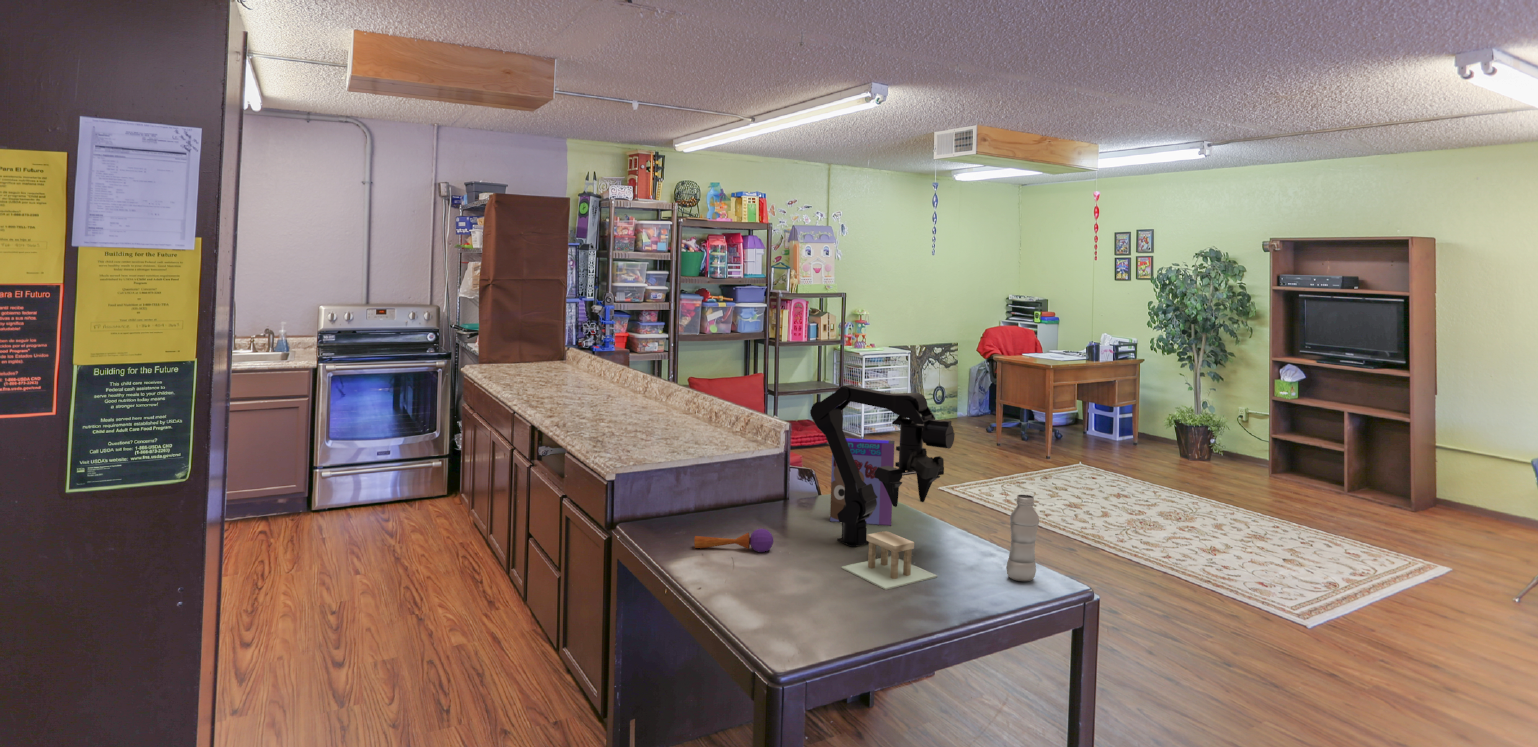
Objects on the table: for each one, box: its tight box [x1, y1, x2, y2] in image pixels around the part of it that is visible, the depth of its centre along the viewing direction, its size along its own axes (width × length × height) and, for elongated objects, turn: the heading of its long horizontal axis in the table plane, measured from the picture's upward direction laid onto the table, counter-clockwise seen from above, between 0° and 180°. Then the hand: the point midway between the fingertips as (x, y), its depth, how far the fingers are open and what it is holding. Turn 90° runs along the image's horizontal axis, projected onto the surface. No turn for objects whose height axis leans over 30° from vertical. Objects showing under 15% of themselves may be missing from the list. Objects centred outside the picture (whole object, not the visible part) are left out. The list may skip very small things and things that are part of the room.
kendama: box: [693, 528, 774, 553], centre depth 205 cm, size 6×6×20 cm
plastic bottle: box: [1005, 493, 1040, 582], centre depth 187 cm, size 6×7×20 cm
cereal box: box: [829, 437, 895, 527], centre depth 231 cm, size 17×5×24 cm, turn 81°
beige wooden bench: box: [866, 530, 915, 579], centre depth 190 cm, size 6×10×8 cm, turn 33°
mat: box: [841, 555, 938, 591], centre depth 191 cm, size 16×16×1 cm
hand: (908, 504), depth 203 cm, fingers open, 9 cm apart
